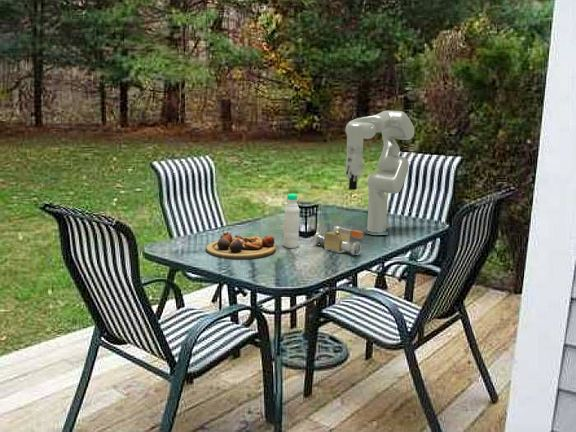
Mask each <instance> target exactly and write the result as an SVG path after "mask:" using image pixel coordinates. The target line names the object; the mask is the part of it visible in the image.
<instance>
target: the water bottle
mask: <svg viewBox="0 0 576 432" xmlns="http://www.w3.org/2000/svg"><path fill="white" fill-rule="evenodd" d="M286 199H287V202H286V204H285V207H284V210H283V211H284V216H283V217H284V218H283V229H284V231H283V247H284V248H288V249H295V248H298V247H299V246H300V245H299V237H300V232H299V229H300V211H301V210H300V207H299V205H298V202H297V201H298V194H296V193H288V194H287V196H286Z"/></svg>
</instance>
